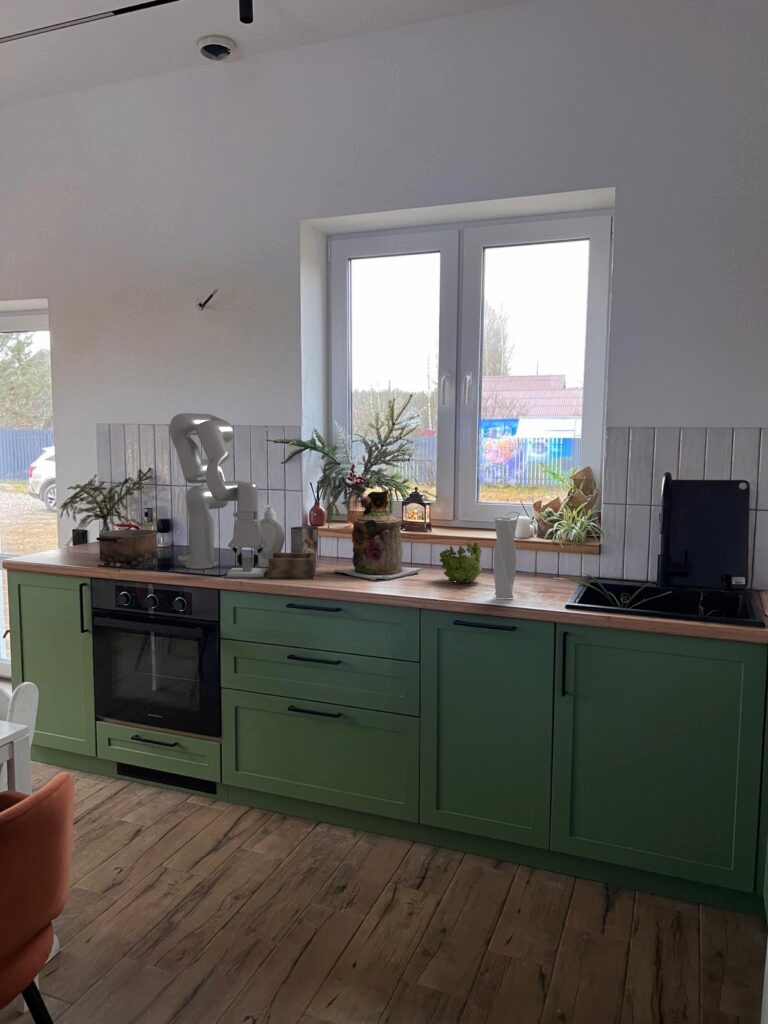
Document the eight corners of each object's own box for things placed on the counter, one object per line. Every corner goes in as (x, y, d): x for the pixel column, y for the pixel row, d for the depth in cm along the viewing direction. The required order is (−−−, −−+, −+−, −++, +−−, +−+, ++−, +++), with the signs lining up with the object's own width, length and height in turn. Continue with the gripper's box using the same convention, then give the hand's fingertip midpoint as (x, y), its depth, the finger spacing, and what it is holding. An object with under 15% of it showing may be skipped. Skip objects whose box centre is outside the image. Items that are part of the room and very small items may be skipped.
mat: (223, 578, 273) (223, 577, 273) (231, 571, 288) (231, 570, 288) (265, 578, 273) (265, 577, 273) (270, 571, 288) (270, 570, 288)
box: (268, 578, 273) (268, 559, 272) (273, 571, 288) (273, 552, 287) (313, 579, 274) (313, 559, 273) (315, 571, 288) (315, 553, 288)
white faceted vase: (514, 595, 251) (516, 510, 248) (519, 600, 243) (521, 513, 241) (490, 594, 251) (492, 510, 248) (494, 599, 243) (496, 512, 240)
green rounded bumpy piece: (493, 574, 261) (459, 545, 258) (462, 601, 268) (428, 573, 265) (494, 550, 277) (462, 522, 274) (464, 576, 284) (433, 549, 281)
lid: (227, 576, 275) (227, 559, 274) (232, 571, 286) (232, 554, 285) (263, 576, 275) (263, 559, 274) (267, 571, 286) (267, 555, 285)
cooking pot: (124, 566, 296) (123, 539, 295) (80, 561, 305) (79, 535, 304) (173, 555, 323) (173, 530, 322) (132, 551, 332) (132, 527, 331)
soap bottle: (249, 567, 296) (248, 505, 294) (259, 564, 303) (259, 503, 301) (278, 569, 291) (278, 506, 289) (288, 566, 299) (288, 505, 296)
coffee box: (306, 565, 303) (306, 525, 302) (318, 566, 300) (318, 526, 298) (290, 568, 296) (290, 527, 294) (302, 569, 292) (302, 528, 291)
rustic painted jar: (376, 565, 304) (377, 486, 301) (423, 574, 287) (424, 489, 284) (331, 573, 286) (331, 488, 283) (378, 582, 269) (379, 492, 266)
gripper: (222, 516, 274) (222, 566, 276) (269, 517, 275) (269, 567, 276) (226, 514, 282) (226, 563, 283) (272, 515, 282) (272, 563, 284)
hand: (247, 564), depth 280 cm, fingers open, 4 cm apart
